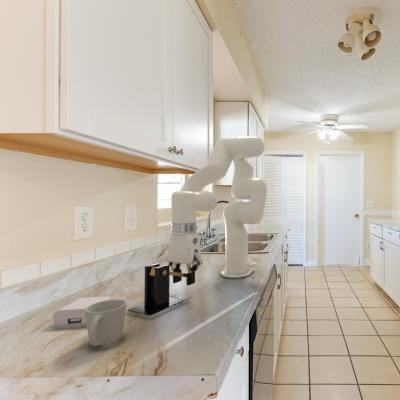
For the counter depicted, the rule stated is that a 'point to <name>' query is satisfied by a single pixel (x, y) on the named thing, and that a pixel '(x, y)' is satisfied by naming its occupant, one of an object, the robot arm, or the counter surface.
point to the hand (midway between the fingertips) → (184, 282)
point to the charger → (76, 311)
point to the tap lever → (170, 273)
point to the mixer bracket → (156, 291)
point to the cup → (105, 321)
